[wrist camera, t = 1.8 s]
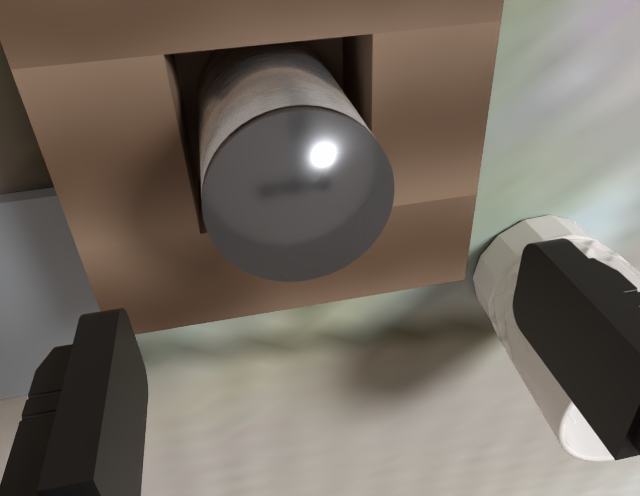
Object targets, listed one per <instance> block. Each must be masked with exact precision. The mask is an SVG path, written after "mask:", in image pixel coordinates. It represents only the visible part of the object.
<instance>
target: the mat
mask: <svg viewBox="0 0 640 496" xmlns="http://www.w3.org/2000/svg"><path fill="white" fill-rule="evenodd" d="M94 312H100V309H99V306H98V303H97V301H96V298H95V295H94V293H93V290H92V287H91V285H90V282H89V279H88V276H87V274H86V271H85V268H84V266H83V263H82V260H81V258H80V255H79V252H78V249H77V247H76V244H75V241H74V239H73V236H72V233H71V231H70V228H69V225H68V222H67V220H66V217H65V214H64V212H63V209H62V206H61V204H60V201H59V198H58V196H57V193H56V190H55V187H54V188H46V189H38V190H30V191H23V192H15V193H7V194H0V400H2V399H8V398H14V397H19V396H25V395H28V393H29V390H30V387H31V384H32V380H33V377H34V374H35V371H36V369H37V368H38V367H39V366H40V364H41V363H42V362H43V361H44V359H45V358H46V357H47V356H48V354H49V353H50V352H51V351H52V349H53V348H54V347H58V346H64V345H70V344H73V341H74V337H75V333H76V329H77V324H78V321H79V318H80V316H81V315H82V314H88V313H94Z"/></svg>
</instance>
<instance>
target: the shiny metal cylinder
mask: <svg viewBox="0 0 640 496" xmlns="http://www.w3.org/2000/svg"><path fill="white" fill-rule="evenodd" d="M197 107H198V130H199V153H200V176H201V199H202V213H203V220H204V223H205V227H206V230H207V232H208V234H209V236H210V239H211V240H212V242H213V243H214V245H215V246H216V248H217V249H218V250H219V252H220V253H221V254H222V255H223V256H224V257H225V258H226V259H227V260H229V261H230V262H231V263H232V264H233V265H235V266H237V267H238V268H240V269H241V270H243V271H245V272H247V273H249V274H251V275H254V276H257V277H260V278H264V279H268V280H273V281H283V282H297V281H306V280H311V279H316V278H320V277H323V276H326V275H329V274H331V273H334V272H336V271H338V270H340V269H342V268H344V267H346V266H347V265H349V264H351V263H352V262H353V261H355V260H356V259H358V258H359V257H360V256H361V255H362V254H363V253H365V252H366V251H367V250H368V249H369V248H370V247H371V245H372V244H373V243H374V242H375V241H376V239H377V238H378V237H379V235H380V234H381V232H382V231H383V229H384V227H385V225H386V223H387V221H388V218H389V216H390V213H391V210H392V206H393V201H394V192H395V190H394V177H393V171H392V168H391V165H390V162H389V159H388V157H387V155H386V154H385V152H384V150H383V148H382V147H381V145H380V144H379V143H378V141H377V140H376V138H375V137H374V135H373V134H372V132H371V131H370V130H369V128H368V127H367V125H366V124H365V122H364V121H363V119H362V118H361V117H360V115H359V114H358V112H357V111H356V109H355V108H354V106H353V105H352V104H351V102H350V101H349V99H348V98H347V96H346V95H345V93H344V92H343V91H342V89H341V88H340V86H339V85H338V83H337V82H336V80H335V79H334V78H333V76H332V75H331V73H330V72H329V70H328V69H327V67H326V66H325V65H324V63H323V62H322V60H321V59H320V57H319V56H318V55H317V53H316V52H315V51H314V50H313V49H312V48H311V47H310V46H309V45H308V44H307V43H305V42H304V41H295V42H285V43H275V44H265V45H255V46H245V47H235V48H225V49H215V50H214V52H213V53H212V54H211V55H210V57H209V58H208V60H207V61H206V63H205V65H204V67H203V69H202V71H201V74H200V77H199V81H198V88H197Z"/></svg>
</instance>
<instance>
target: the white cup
mask: <svg viewBox="0 0 640 496" xmlns="http://www.w3.org/2000/svg"><path fill="white" fill-rule="evenodd" d="M560 238H565V239H568V240H570V241H571V242H572V243H573V244H574V245H575V246H576V247H577V248H578V249H579V250H580V251H581V252H583V253H584V254H585V255H586V256H587V257H588V258H589V259H590V258H595V259H596V260H598V261H600V262H602V263H604V264H606V265H608V266H610V267H612V268H614V269H616V270H618V271H619V272H620V273H621V274H622V275H624V276H625V277H626V278H627V279H628V280H629V281H630V282H631V283H632V284H633V285H635V286H636V287H637V290H638V292H640V271H639V270H638V269H636V268H635V267H633V266H632V265H630V264H629V263H628V262H627V261H626V260H625V259H623V258H622V257H621V256H619V255H618V254H617V253H616V252H614V251H612V250H611V249H609V248H607V247H606V246H604V245H602V244H601V243H599V242H598V241H597V240H596V239H595V238H594V237H592V236H591V235H590V234H589V233H588V232H586V231H585V230H584V229H583V228H582V227H580V226H579V225H578V224H577V223H575V222H574V221H573V220H569V219H565V218H561V217H558V216H554V215H546V216H541V217H536V218H531V219H526V220H523V221H521V222H519V223H518V224H516V225H514V226H513V227H511V228H509V229H507V230H506V231H504V232H502V233H501V234H499V235H498V236H497V237H496V238H495V239H494V241H493V242H492V243H491V244H490V245H489V246H488V247H487V249H486V250H485V251H484V252H483V253H482V254H481V256H480V258H479V261H478V264H477V267H476V270H475V273H474V276H473V282H474V286H475V291H476V296H477V299H478V300H479V302H480V304H481V305H482V307H483V309H484V310H485V312H486V314H487V315H488V317H489V319H490V320H491V322H492V325H493V327H494V329H495V331H496V334H497V336H498V338H499V340H500V341H501V343H502V344H503V346H504V347H505V349H506V351H507V353H508V355H509V357H510V359H511V361H512V363H513V365H514V366H515V368H516V370H517V372H518V373H519V375H520V377H521V378H522V380H523V382H524V383H525V385H526V387H527V388H528V390H529V392H530V394H531V395H532V397H533V399H534V400H535V402H536V404H537V405H538V407H539V409H540V411H541V412H542V414H543V416H544V417H545V419H546V421H547V423H548V424H549V426H550V428H551V429H552V431H553V433H554V435H555V436H556V438H557V440H558V441H559V443H560V445H561V447H562V448H563V449H564V450H565V451H566V452H567V453H568V454H569V455H571V456H573V457H575V458H578V459H581V460H586V461H611V460H615V459H614V458H613V456H612V455H611V454H610V452H609V451H608V450H607V448H606V447H605V446H604V444H603V443H602V441H601V440H600V439H599V437H598V436H597V435H596V433H595V432H594V431H593V429H592V428H591V427H590V425H589V424H588V422H587V421H586V420H585V418H584V417H583V416H582V414H581V413H580V412H579V410H578V409H577V407H576V406H575V405H574V403H573V402H572V401H571V399H570V398H569V397H568V395H567V394H566V392H565V391H564V390H563V388H562V387H561V386H560V384H559V383H558V382H557V380H556V379H555V378H554V376H553V375H552V373H551V372H550V371H549V369H548V368H547V367H546V365H545V364H544V363H543V361H542V360H541V358H540V357H539V356H538V354H537V353H536V352H535V350H534V349H533V348H532V346H531V345H530V343H529V342H528V341H527V339H526V338H525V337H524V335H523V334H522V333H521V331H520V330H519V328H518V326H517V324H516V321H515V318H514V314H513V297H514V292H515V287H516V282H517V277H518V272H519V267H520V262H521V257H522V252H523V250H524V248H525V246H526V245H527V244H529V243H535V242H542V241H548V240H554V239H560Z"/></svg>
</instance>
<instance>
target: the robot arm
mask: <svg viewBox="0 0 640 496" xmlns="http://www.w3.org/2000/svg"><path fill="white" fill-rule="evenodd" d="M513 314H514V318H515V321H516V324H517V326H518V328H519V330H520V331H521V333H522V334H523V335H524V337H525V338H526V339H527V341H528V342H529V343H530V345H531V346H532V348H533V349H534V350H535V352H536V353H537V354H538V356H539V357H540V358H541V360H542V361H543V363H544V364H545V365H546V367H547V368H548V369H549V371H550V372H551V373H552V375H553V376H554V378H555V379H556V380H557V382H558V383H559V384H560V386H561V387H562V388H563V390H564V391H565V392H566V394H567V395H568V397H569V398H570V399H571V401H572V402H573V403H574V405H575V406H576V407H577V409H578V410H579V412H580V413H581V414H582V416H583V417H584V418H585V420H586V421H587V422H588V424H589V425H590V427H591V428H592V429H593V431H594V432H595V433H596V435H597V436H598V437H599V439H600V440H601V441H602V443H603V444H604V446H605V447H606V448H607V450H608V451H609V452H610V454H611V455H612V456H613V458H614V459H615V460H619V459H624V458H628V457H633V456H637V455H640V292H638V290H637V287H636V286H635V285H633V284H632V283H631V282H630V281H629V280H628V279H627V278H626V277H625V276H624V275H622V274H621V273H620V272H619V271H618V270H616V269H614V268H612V267H610V266H608V265H606V264H604V263H602V262H600V261H598V260H596V259H595V258H590V259H589V258H588V257H587V256H586V255H585V254H584V253H583V252H581V251H580V250H579V249H578V248H577V247H576V246H575V245H574V244H573V243H572V242H571V241H570V240H568V239H565V238H560V239H554V240H548V241H542V242H535V243H529V244H527V245H526V246H525V248H524V250H523V252H522V257H521V262H520V267H519V272H518V277H517V282H516V287H515V292H514V297H513ZM28 397H29V399H28V400H26V403H25V406H24V410H23V413H22V421H20V423H19V426H18V429H17V432H16V436H15V439H14V442H13V445H12V449H11V452H10V455H9V458H8V462H7V465H6V468H5V471H4V475H3V478H2V481H1V484H0V496H141V483H142V470H143V457H144V444H145V431H146V418H147V404H148V382H147V375H146V370H145V365H144V362H143V359H142V356H141V353H140V350H139V347H138V344H137V341H136V338H135V335H134V332H133V329H132V326H131V323H130V320H129V317H128V314H127V312H126V310H125V309H124V308H119V309H112V310H106V311H100V312H94V313H88V314H82V315H81V316H80V318H79V321H78V324H77V329H76V333H75V337H74V341H73V344H70V345H64V346H58V347H54V348H53V349H52V351H51V352H50V353H49V354H48V356H47V357H46V358H45V359H44V361H43V362H42V363H41V364H40V366H39V367H38V368H37V369H36V371H35V374H34V377H33V380H32V384H31V387H30V390H29V393H28Z"/></svg>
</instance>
